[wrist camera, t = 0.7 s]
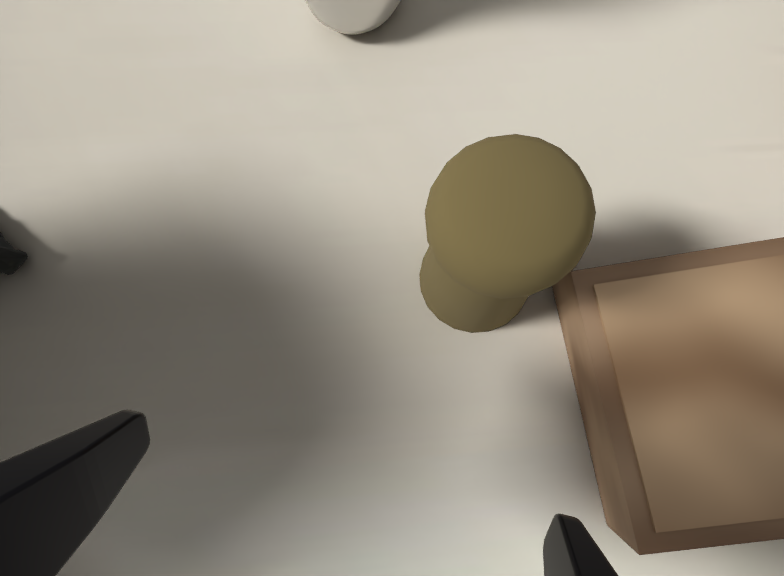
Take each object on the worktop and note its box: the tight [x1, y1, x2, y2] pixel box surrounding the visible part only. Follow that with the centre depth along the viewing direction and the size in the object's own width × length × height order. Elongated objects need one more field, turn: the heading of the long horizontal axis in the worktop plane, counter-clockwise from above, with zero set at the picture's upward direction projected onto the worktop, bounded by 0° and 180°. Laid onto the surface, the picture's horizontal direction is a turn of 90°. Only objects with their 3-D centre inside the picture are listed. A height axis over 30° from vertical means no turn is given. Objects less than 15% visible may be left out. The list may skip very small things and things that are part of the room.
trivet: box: [552, 237, 784, 555], centre depth 18 cm, size 12×12×3 cm
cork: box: [419, 134, 596, 333], centre depth 16 cm, size 6×6×11 cm
